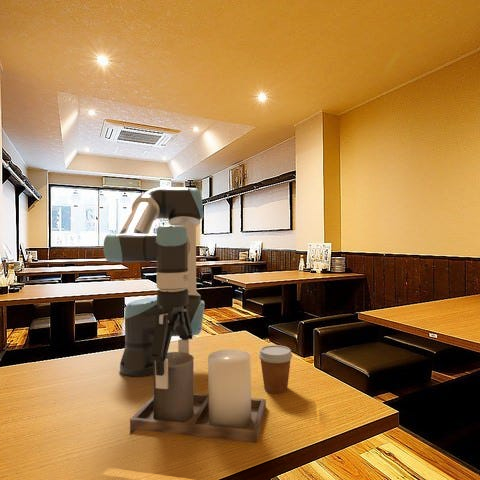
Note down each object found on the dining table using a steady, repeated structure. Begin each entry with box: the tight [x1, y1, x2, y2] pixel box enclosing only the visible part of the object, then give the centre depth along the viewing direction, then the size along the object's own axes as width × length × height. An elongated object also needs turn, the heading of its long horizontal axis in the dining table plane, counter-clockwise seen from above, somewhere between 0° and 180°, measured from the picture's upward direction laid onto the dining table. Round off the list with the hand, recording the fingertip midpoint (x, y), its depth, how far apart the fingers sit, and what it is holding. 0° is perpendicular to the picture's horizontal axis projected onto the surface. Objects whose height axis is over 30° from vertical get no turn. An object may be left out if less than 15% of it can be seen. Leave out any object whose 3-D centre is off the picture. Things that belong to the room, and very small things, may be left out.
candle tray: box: [129, 392, 267, 443], centre depth 80 cm, size 29×15×3 cm, turn 78°
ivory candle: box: [207, 348, 252, 429], centre depth 79 cm, size 10×10×15 cm
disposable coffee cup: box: [258, 344, 293, 395], centre depth 95 cm, size 10×10×12 cm
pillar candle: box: [153, 351, 195, 422], centre depth 82 cm, size 10×10×15 cm
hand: (173, 375), depth 82 cm, fingers open, 13 cm apart
